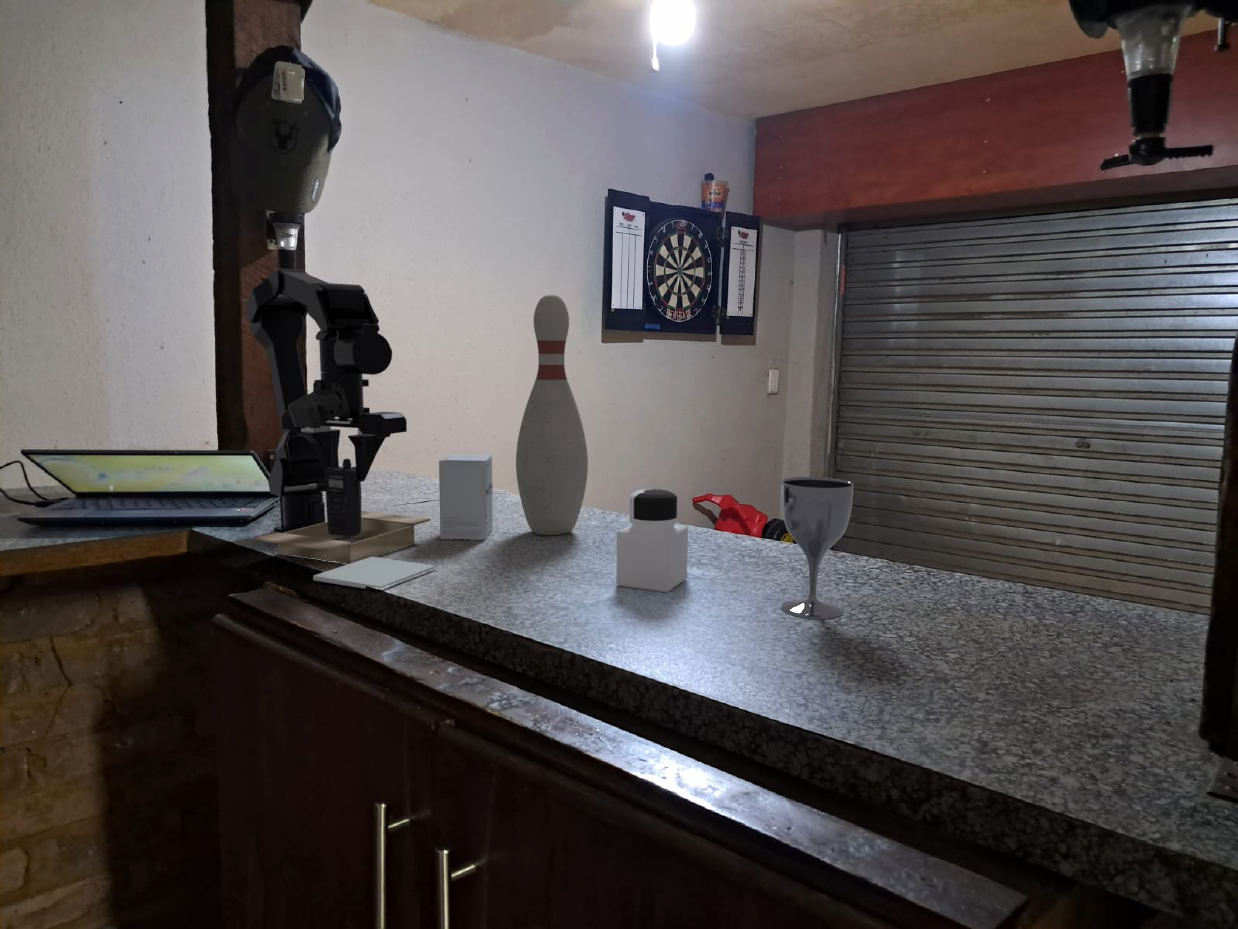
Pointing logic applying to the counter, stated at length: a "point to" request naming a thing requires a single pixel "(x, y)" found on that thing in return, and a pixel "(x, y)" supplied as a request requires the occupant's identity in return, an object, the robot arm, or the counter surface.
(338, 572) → the mat
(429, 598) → the counter surface
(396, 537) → the carton
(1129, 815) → the counter surface
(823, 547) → the wine glass
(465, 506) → the supplement box
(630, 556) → the medicine bottle
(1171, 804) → the counter surface
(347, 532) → the two-way radio
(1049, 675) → the counter surface
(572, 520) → the bowling pin
